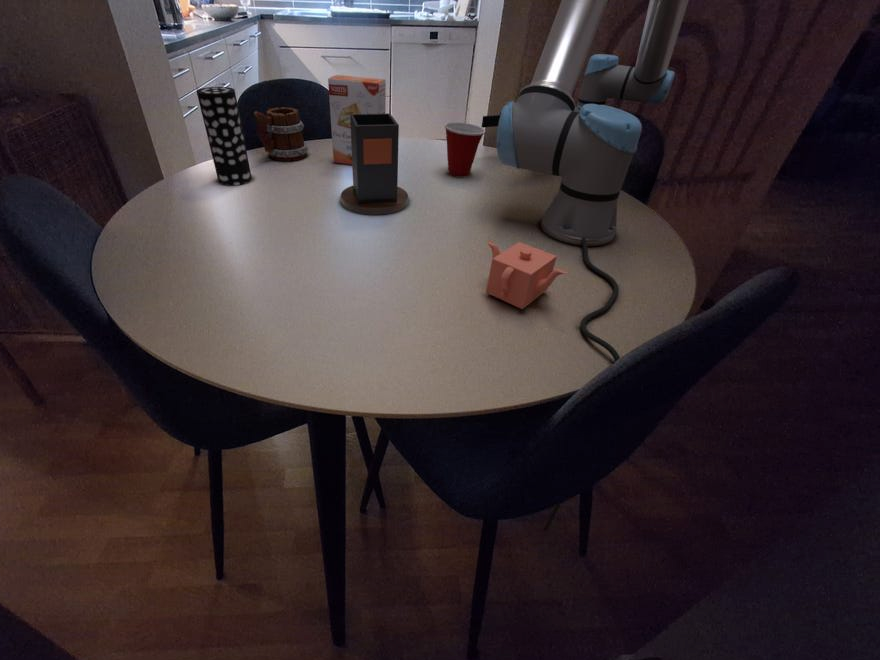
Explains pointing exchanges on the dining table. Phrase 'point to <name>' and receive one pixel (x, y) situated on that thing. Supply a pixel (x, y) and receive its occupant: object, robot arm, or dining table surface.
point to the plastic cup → (462, 146)
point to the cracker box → (352, 108)
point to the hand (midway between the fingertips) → (496, 127)
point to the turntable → (375, 208)
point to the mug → (282, 134)
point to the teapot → (520, 273)
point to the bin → (374, 157)
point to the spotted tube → (225, 134)
